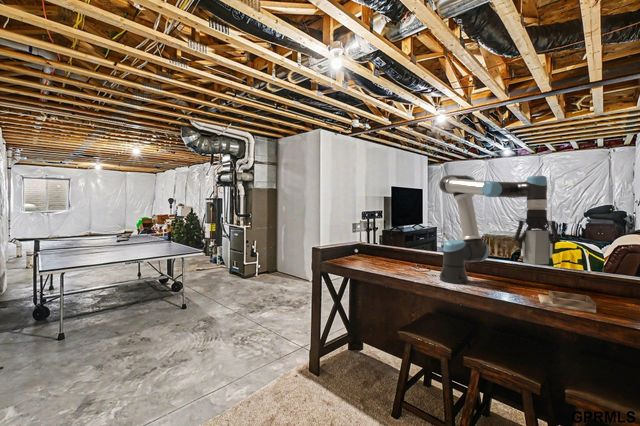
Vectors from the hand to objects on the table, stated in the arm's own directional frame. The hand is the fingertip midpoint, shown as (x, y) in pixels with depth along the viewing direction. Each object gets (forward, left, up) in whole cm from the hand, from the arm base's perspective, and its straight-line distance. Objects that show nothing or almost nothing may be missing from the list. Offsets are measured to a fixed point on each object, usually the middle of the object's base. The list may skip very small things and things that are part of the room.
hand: (536, 256), depth 133 cm
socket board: (+11, +1, -20) cm, 23 cm away
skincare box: (0, 0, -3) cm, 3 cm away
